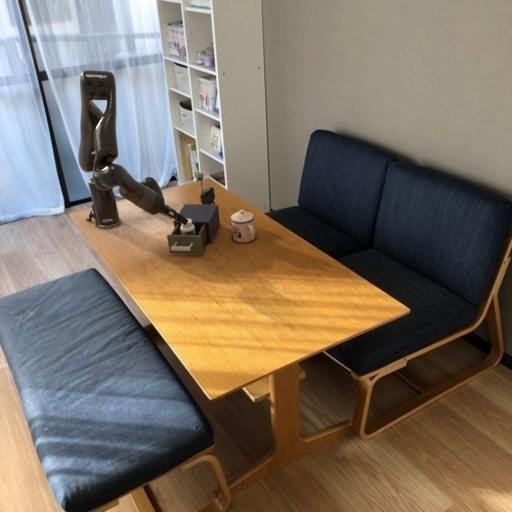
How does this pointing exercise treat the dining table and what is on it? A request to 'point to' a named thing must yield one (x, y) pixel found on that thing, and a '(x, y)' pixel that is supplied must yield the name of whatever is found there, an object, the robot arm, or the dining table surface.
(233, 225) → the teacup with lid
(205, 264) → the dining table surface
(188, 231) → the pill bottle
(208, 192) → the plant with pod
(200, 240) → the drawer
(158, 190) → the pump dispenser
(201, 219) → the cabinet
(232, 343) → the dining table surface
